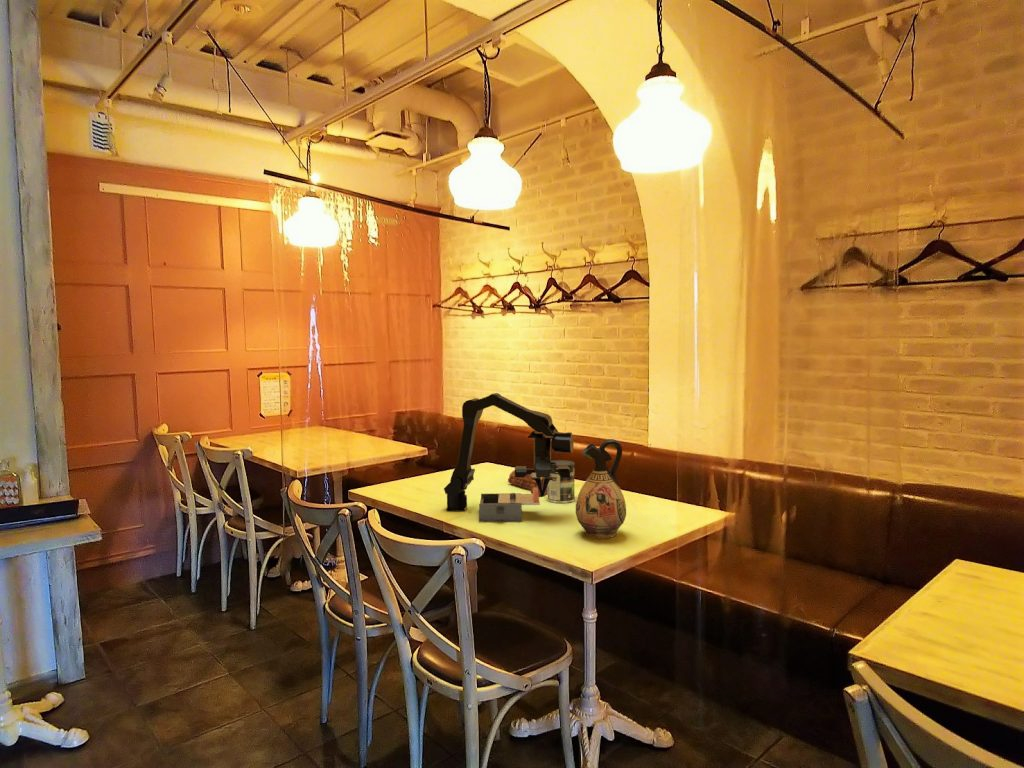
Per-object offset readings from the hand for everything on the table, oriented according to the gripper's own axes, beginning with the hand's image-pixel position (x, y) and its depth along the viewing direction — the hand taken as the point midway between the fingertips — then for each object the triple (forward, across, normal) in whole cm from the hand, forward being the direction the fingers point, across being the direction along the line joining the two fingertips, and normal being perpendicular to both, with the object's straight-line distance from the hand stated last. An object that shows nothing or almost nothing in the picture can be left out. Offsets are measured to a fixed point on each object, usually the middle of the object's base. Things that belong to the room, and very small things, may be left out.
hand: (542, 496), depth 218 cm
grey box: (+7, -14, 0) cm, 16 cm away
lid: (+1, -8, 0) cm, 8 cm away
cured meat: (+7, -1, +38) cm, 39 cm away
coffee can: (+7, +8, +21) cm, 23 cm away
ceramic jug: (+7, +18, -21) cm, 28 cm away
